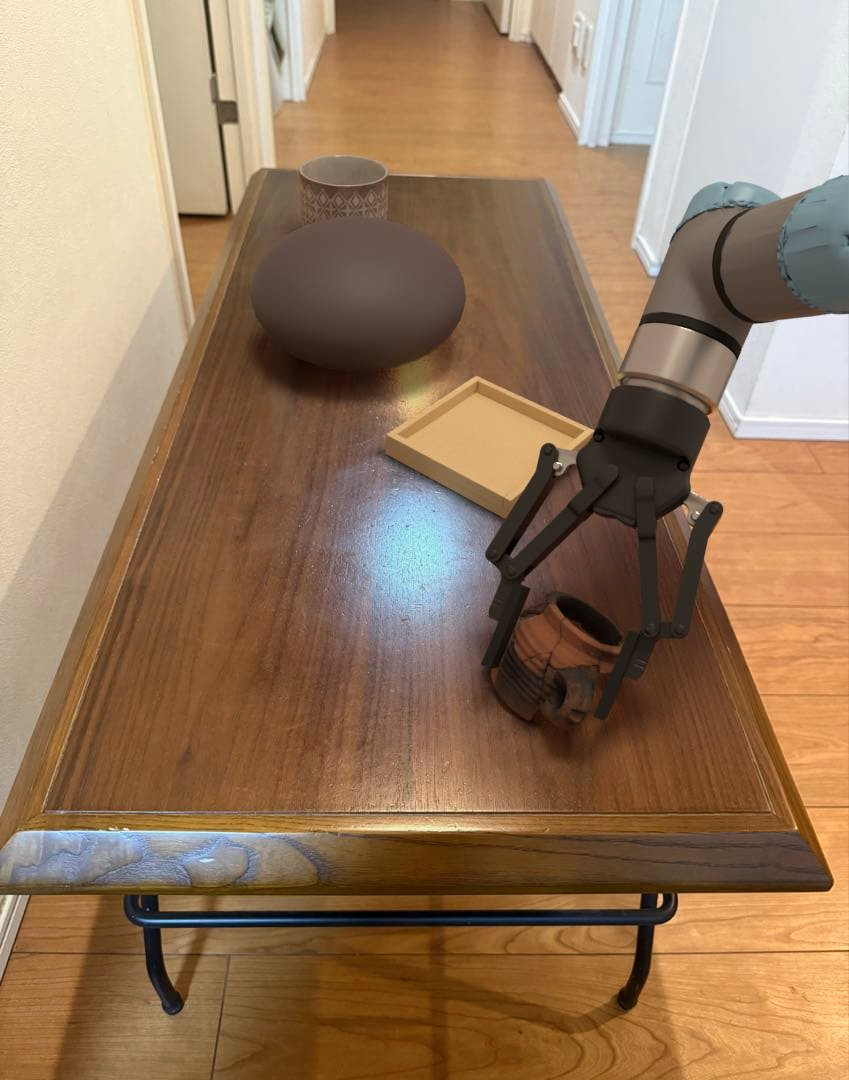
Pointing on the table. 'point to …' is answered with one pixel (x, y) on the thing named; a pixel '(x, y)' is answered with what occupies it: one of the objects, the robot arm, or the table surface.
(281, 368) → the table surface
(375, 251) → the smooth stone
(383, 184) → the planter
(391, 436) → the wooden tray
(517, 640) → the pottery mug
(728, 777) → the table surface
